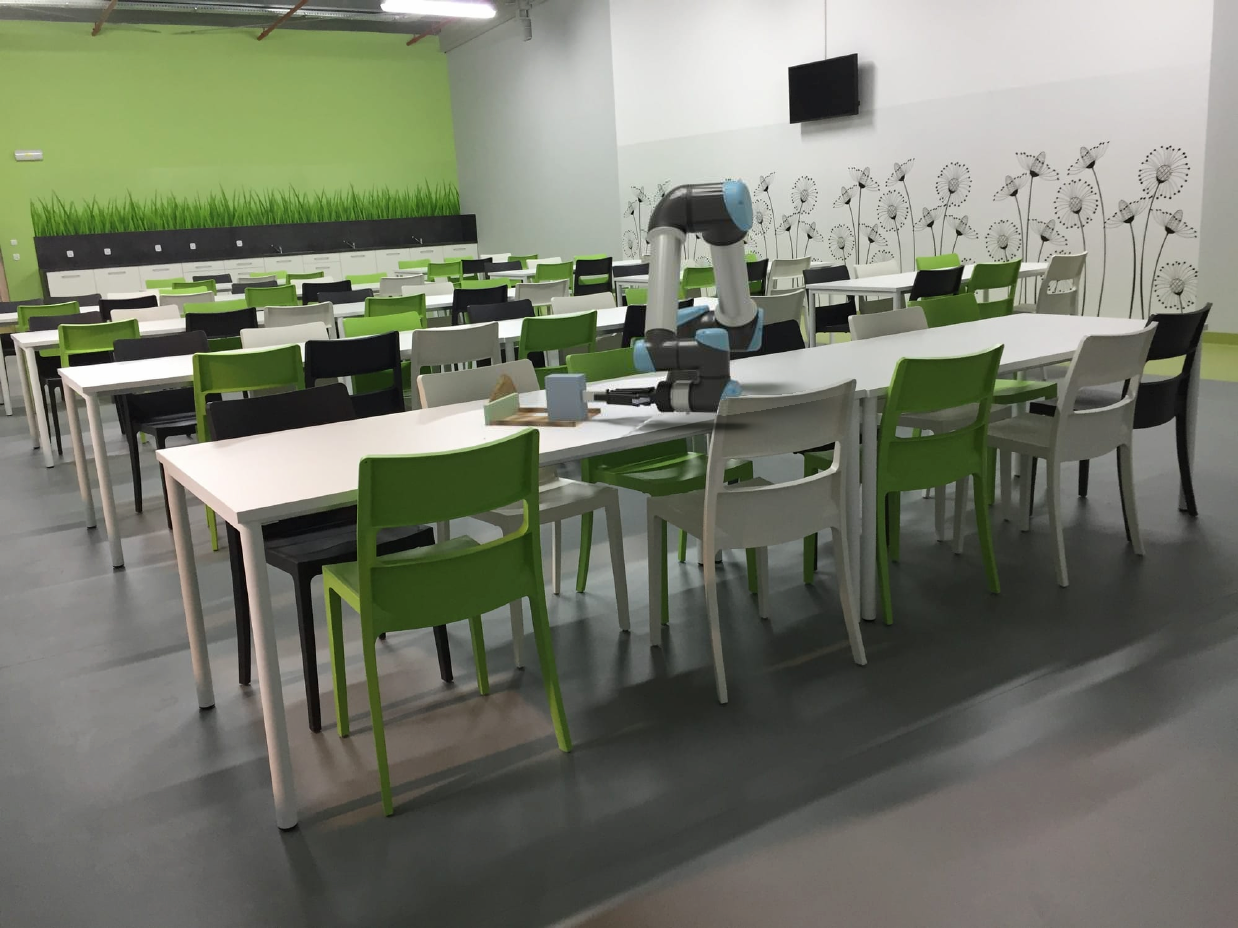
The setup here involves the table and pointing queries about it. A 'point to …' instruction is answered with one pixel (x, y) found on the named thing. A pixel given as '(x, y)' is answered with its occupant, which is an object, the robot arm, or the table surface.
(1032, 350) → the table surface
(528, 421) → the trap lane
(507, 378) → the rock
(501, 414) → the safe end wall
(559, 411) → the block
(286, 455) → the table surface
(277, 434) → the table surface
